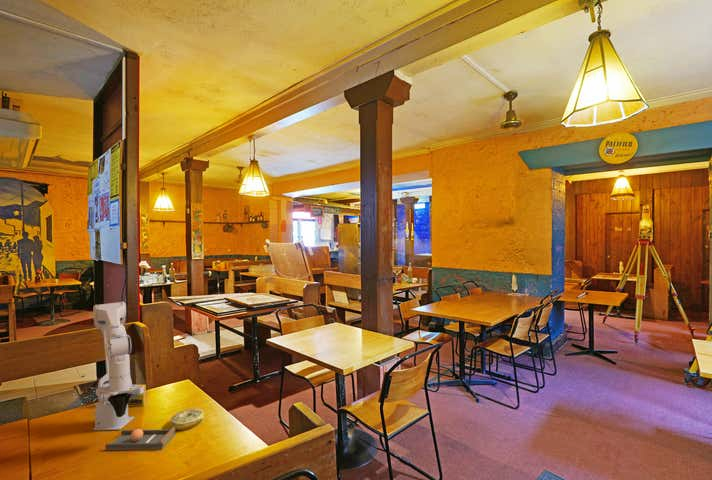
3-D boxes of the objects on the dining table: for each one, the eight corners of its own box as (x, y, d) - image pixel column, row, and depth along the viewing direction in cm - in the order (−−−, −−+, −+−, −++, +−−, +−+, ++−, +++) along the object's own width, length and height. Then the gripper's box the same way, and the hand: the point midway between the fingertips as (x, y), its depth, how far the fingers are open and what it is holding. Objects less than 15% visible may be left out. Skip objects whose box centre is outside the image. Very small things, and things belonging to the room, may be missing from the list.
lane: (105, 450, 110) (105, 442, 110) (122, 435, 118) (122, 427, 118) (162, 449, 110) (161, 441, 110) (175, 434, 118) (175, 427, 118)
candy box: (104, 406, 138) (103, 386, 138) (108, 403, 140) (107, 383, 140) (143, 406, 137) (142, 386, 137) (147, 404, 139) (146, 383, 139)
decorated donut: (209, 420, 127) (209, 410, 127) (182, 435, 117) (182, 424, 117) (191, 413, 132) (191, 403, 132) (164, 427, 122) (164, 416, 122)
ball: (127, 443, 112) (127, 432, 112) (135, 437, 115) (134, 426, 115) (139, 443, 112) (138, 432, 112) (145, 437, 115) (145, 426, 115)
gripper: (88, 380, 109) (89, 422, 109) (133, 379, 109) (135, 421, 109) (104, 371, 116) (105, 411, 117) (147, 370, 116) (148, 410, 116)
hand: (121, 415), depth 113 cm, fingers closed
